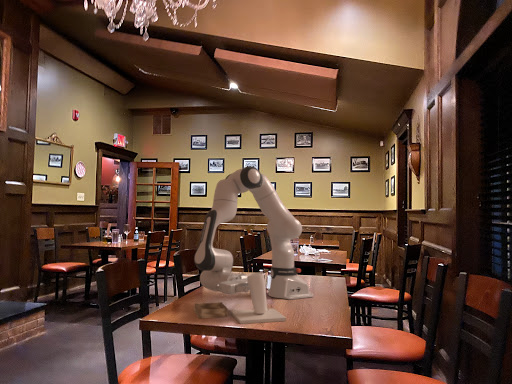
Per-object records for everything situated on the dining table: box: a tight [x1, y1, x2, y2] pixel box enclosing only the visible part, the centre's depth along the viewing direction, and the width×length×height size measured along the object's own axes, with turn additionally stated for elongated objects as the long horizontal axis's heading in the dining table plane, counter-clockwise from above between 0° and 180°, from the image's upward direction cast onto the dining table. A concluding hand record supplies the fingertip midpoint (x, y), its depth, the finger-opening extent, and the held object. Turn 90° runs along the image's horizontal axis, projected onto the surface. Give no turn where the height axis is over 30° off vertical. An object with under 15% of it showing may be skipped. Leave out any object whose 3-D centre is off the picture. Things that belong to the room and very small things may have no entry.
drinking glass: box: [247, 271, 268, 314], centre depth 147 cm, size 7×7×15 cm
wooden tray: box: [193, 301, 229, 320], centre depth 149 cm, size 11×11×3 cm
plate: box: [230, 308, 287, 325], centre depth 145 cm, size 18×14×1 cm
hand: (255, 288), depth 147 cm, fingers open, 8 cm apart
